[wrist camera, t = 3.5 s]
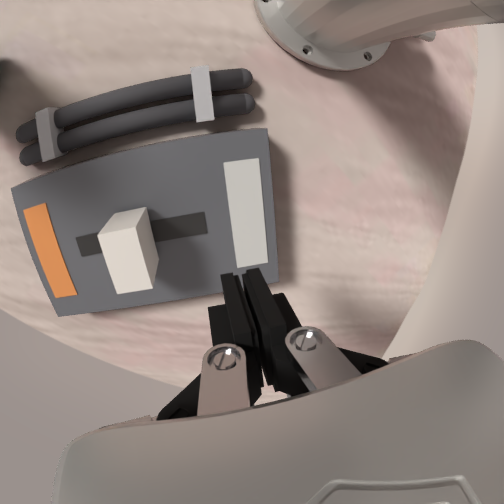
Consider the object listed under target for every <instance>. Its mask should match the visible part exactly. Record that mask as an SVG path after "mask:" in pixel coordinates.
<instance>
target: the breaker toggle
mask: <svg viewBox="0 0 504 504" xmlns="http://www.w3.org/2000/svg"><path fill="white" fill-rule="evenodd" d="M97 236H98V239H99V242H100V246H101V249H102V252H103V255H104V258H105V261H106V264H107V267H108V270H109V273H110V276H111V278H112V281H113V284H114V287H115V289H116V292H117V294H122V293H128V292H135V291H141V290H147V289H153V285H154V280H155V275H156V271H157V266H158V261H159V257H158V253H157V249H156V245H155V241H154V237H153V233H152V229H151V225H150V221H149V216H148V212H147V207H143V208H138V209H133V210H128V211H124V212H119V213H115V214H114V215H113V216H112V217H111V218H110V220H109V221H108V222H107V223H106V225H105V226H104V227H103V228H102V230H101V231H100V232H99V234H98V235H97Z"/></svg>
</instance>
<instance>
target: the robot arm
mask: <svg viewBox="0 0 504 504" xmlns="http://www.w3.org/2000/svg"><path fill="white" fill-rule="evenodd" d="M265 1H266V2H267V3H266V2H263V1H262V0H254V6H255V9H256V12H257V16H258V18H259V20H260V21H261V23H262V25H263V27H264V29H265V30H266V31H267V32H268V34H269V35H270V36H271V37H272V39H273V40H274V41H276V42H277V43H278V44H279V45H280V46H281V47H282V48H283V49H284V50H286V51H287V52H289V53H290V54H292V55H293V56H295V57H296V58H298V59H300V60H302V61H304V62H306V63H308V64H310V65H313V66H316V67H320V68H323V69H328V70H334V71H350V70H355V69H360V68H363V67H366V66H369V65H371V64H373V63H374V62H376V61H378V60H379V59H380V58H381V57H382V56H383V55H384V54H385V52H386V51H387V49H388V47H389V45H390V42H391V41H393V40H397V39H401V38H405V37H409V36H413V37H416V38H419V39H422V40H425V41H428V42H431V41H433V40H434V39H435V35H436V33H435V31H437V30H443V29H449V28H456V27H463V26H471V25H481V24H493V23H504V0H265ZM303 50H305V51H306V52H307V53H306V54H305V53H304V52H303ZM220 277H221V283H222V288H223V294H224V299H225V304H223V305H217V306H212V307H208V312H209V320H210V328H211V335H212V343H213V347H212V348H210V349H209V350H208V351H207V352H206V353H205V354H204V357H203V361H202V371H201V374H199V375H198V376H197V377H196V378H195V379H194V380H193V381H192V382H191V383H190V384H189V385H188V386H187V387H186V388H185V389H184V390H183V391H181V392H180V393H179V394H178V395H177V396H176V397H175V398H174V399H173V400H172V401H171V402H170V403H169V404H167V406H165V407H164V408H163V409H162V410H161V411H160V413H159V414H158V416H155V417H152V418H151V416H150V415H148V416H144V417H141V418H137V419H133V420H129V421H125V422H121V423H117V424H112V425H108V426H104V427H102V428H99V429H97V430H94V431H91V432H88V433H85V434H83V435H81V436H79V437H77V438H75V439H74V440H72V441H71V442H70V443H69V444H68V445H67V446H66V448H65V449H64V451H63V453H62V455H61V457H60V460H59V463H58V467H57V470H56V475H55V479H54V485H53V493H52V501H51V504H504V361H503V360H502V359H501V358H500V357H499V356H498V355H497V354H496V353H495V352H493V351H492V350H491V349H490V348H488V347H487V346H485V345H484V344H482V343H480V342H477V341H473V340H458V341H451V342H447V343H443V344H440V345H436V346H433V347H431V348H428V349H426V350H423V351H421V352H418V353H414V354H409V355H405V356H399V357H394V358H390V359H389V361H388V362H386V361H385V360H383V359H380V358H377V357H373V356H369V355H365V354H361V353H357V352H353V351H350V350H346V349H342V348H339V347H336V346H335V344H334V343H333V342H332V341H331V340H330V339H329V338H328V337H327V336H326V334H325V333H324V332H322V331H321V330H320V329H317V328H315V327H309V326H305V327H302V326H301V324H300V322H299V320H298V318H297V316H296V315H295V313H294V311H293V309H292V307H291V306H290V304H289V302H288V300H287V298H286V297H285V295H284V293H279V294H274V295H272V293H271V291H270V289H269V287H268V285H267V283H266V281H265V279H264V277H263V275H262V273H261V271H260V269H259V268H253V269H248V270H246V273H244V274H242V280H243V287H244V291H243V288H242V285H241V282H240V279H239V276H238V275H233V272H232V273H226V274H221V275H220ZM261 366H262V367H261ZM262 369H263V372H264V376H265V379H266V382H267V385H268V386H269V385H273V387H274V390H275V392H277V391H281V392H283V393H286V394H287V397H288V398H285V399H281V400H277V401H273V402H269V403H265V404H260V405H256V406H254V403H255V402H256V401H257V400H258V398H259V397H260V396H261V395H262V393H261V387H264V383H263V375H262Z"/></svg>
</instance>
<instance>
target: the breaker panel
mask: <svg viewBox="0 0 504 504" xmlns="http://www.w3.org/2000/svg"><path fill="white" fill-rule="evenodd" d="M11 191H12V195H13V199H14V203H15V207H16V210H17V214H18V217H19V221H20V224H21V227H22V230H23V233H24V236H25V239H26V242H27V245H28V248H29V251H30V253H31V256H32V259H33V261H34V264H35V266H36V269H37V271H38V274H39V276H40V279H41V281H42V283H43V286H44V288H45V290H46V292H47V294H48V297H49V299H50V301H51V303H52V305H53V307H54V309H55V311H56V313H57V315H58V317H60V316H69V315H77V314H85V313H92V312H100V311H107V310H114V309H121V308H128V307H135V306H142V305H148V304H155V303H161V302H168V301H174V300H180V299H186V298H192V297H198V296H204V295H210V294H215V293H221V292H223V288H222V283H221V277H220V275H221V274H226V273H232V272H233V275H238V276H239V279H240V282H241V285H242V288H244V287H243V280H242V274H244V273H246V270H248V269H253V268H259V269H260V271H261V273H262V275H263V277H264V279H265V281H266V283H267V284H270V283H275V282H279V273H278V257H277V242H276V227H275V214H274V201H273V188H272V176H271V164H270V152H269V141H268V130H267V128H251V129H241V130H233V131H225V132H217V133H210V134H203V135H197V136H191V137H185V138H179V139H174V140H169V141H163V142H158V143H154V144H149V145H144V146H140V147H135V148H131V149H127V150H123V151H119V152H115V153H111V154H107V155H104V156H100V157H96V158H93V159H89V160H86V161H83V162H79V163H76V164H73V165H70V166H67V167H64V168H61V169H58V170H55V171H52V172H49V173H46V174H43V175H41V176H38V177H35V178H32V179H30V180H27V181H25V182H23V183H21V184H19V185H17V186H15V187H13V188H11ZM143 207H147V212H148V216H149V221H150V225H151V229H152V233H153V237H154V241H155V245H156V249H157V253H158V257H159V261H158V266H157V271H156V275H155V280H154V285H153V289H147V290H141V291H135V292H128V293H122V294H117V292H116V289H115V287H114V284H113V281H112V278H111V276H110V273H109V270H108V267H107V264H106V261H105V258H104V255H103V252H102V249H101V246H100V242H99V239H98V236H97V235H98V234H99V232H100V231H101V230H102V228H103V227H104V226H105V225H106V223H107V222H108V221H109V220H110V218H111V217H112V216H113V215H114V214H115V213H119V212H124V211H128V210H133V209H138V208H143Z"/></svg>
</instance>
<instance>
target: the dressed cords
mask: <svg viewBox="0 0 504 504" xmlns="http://www.w3.org/2000/svg"><path fill="white" fill-rule="evenodd" d="M252 80H253V77H252V74H251V72H250V71H248V70H246V69H243V68H241V69H228V70H218V71H210V72H209V67H208V65H205V66H198V67H191V74H188V75H182V76H176V77H170V78H165V79H160V80H155V81H150V82H146V83H141V84H137V85H133V86H129V87H125V88H121V89H118V90H114V91H111V92H107V93H104V94H100V95H97V96H94V97H91V98H88V99H85V100H82V101H79V102H76V103H73V104H71V105H68V106H65V107H63V108H56V107H47V108H45V109H42V110H40V111H38V112H35V115H36V119H34V120H32V121H29V122H27V123H25V124H23V125H21V126H20V127H19V128H18V129H17V132H16V139H17V140H18V142H20V143H26V142H28V141H30V140H33V139H35V138H37V137H38V138H39V142H37V143H35V144H32V145H30V146H28V147H25V148H24V149H23V150H22V151H21V153H20V157H19V159H20V162H21V163H22V164H23V165H25V166H29V165H31V164H34V163H36V162H39V161H43V162H45V161H48V160H51V159H54V158H57V157H60V156H63V155H66V154H68V153H67V151H70V150H73V149H76V148H79V147H82V146H85V145H88V144H92V143H95V142H99V141H102V140H106V139H109V138H113V137H117V136H121V135H125V134H129V133H133V132H137V131H141V130H146V129H150V128H155V127H160V126H165V125H170V124H176V123H181V122H187V121H193V120H196V121H197V123H198V122H205V121H212V120H214V117H221V116H229V115H238V114H247V113H250V112H251V111H252V110H253V109H254V107H255V100H254V98H253V97H252V96H251V95H249V94H246V93H242V94H231V95H222V96H214V97H212V94H211V92H213V91H222V90H231V89H242V88H246V87H248V86H249V85H250V84H251V83H252ZM192 94H193V96H194V99H192V100H186V101H180V102H175V103H169V104H164V105H159V106H154V107H149V108H145V109H141V110H136V111H132V112H128V113H124V114H120V115H117V116H113V117H109V118H106V119H102V120H99V121H96V122H92V123H89V124H86V125H83V126H80V127H77V128H74V129H71V130H68V131H65V132H64V128H63V127H66V126H68V125H71V124H74V123H77V122H80V121H83V120H86V119H89V118H92V117H96V116H99V115H102V114H106V113H109V112H113V111H116V110H120V109H124V108H128V107H132V106H136V105H140V104H144V103H149V102H154V101H158V100H163V99H169V98H174V97H180V96H186V95H192Z"/></svg>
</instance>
